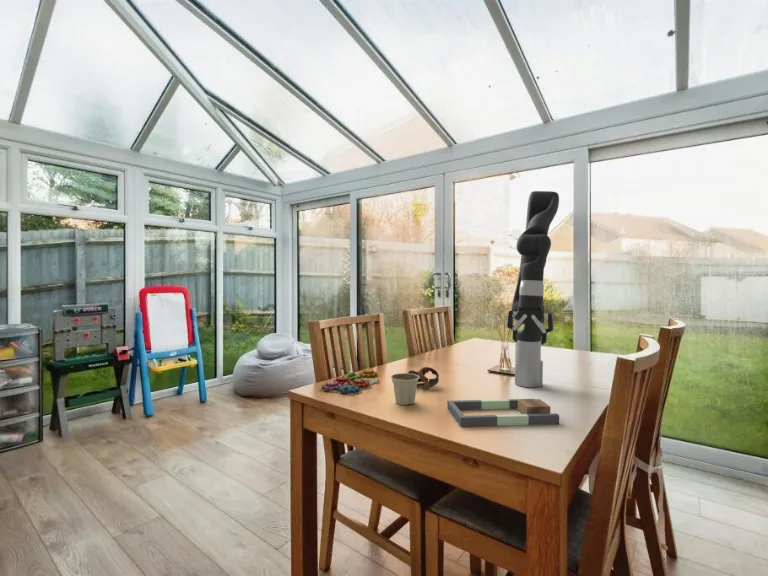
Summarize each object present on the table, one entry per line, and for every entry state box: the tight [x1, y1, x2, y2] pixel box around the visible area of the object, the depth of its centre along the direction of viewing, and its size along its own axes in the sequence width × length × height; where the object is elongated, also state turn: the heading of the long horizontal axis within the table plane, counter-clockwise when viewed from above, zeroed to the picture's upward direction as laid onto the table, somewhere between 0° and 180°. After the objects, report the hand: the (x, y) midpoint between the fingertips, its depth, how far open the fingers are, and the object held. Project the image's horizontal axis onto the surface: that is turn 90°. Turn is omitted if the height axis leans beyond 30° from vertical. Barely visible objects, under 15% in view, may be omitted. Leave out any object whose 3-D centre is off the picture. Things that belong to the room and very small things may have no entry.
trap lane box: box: [446, 398, 560, 428], centre depth 118 cm, size 28×15×2 cm, turn 95°
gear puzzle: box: [318, 368, 381, 396], centre depth 154 cm, size 31×16×4 cm, turn 155°
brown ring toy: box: [407, 366, 440, 390], centre depth 149 cm, size 12×10×8 cm
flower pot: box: [390, 372, 419, 406], centre depth 131 cm, size 9×9×9 cm
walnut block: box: [517, 398, 551, 414], centre depth 119 cm, size 7×7×4 cm
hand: (529, 343), depth 132 cm, fingers open, 8 cm apart
